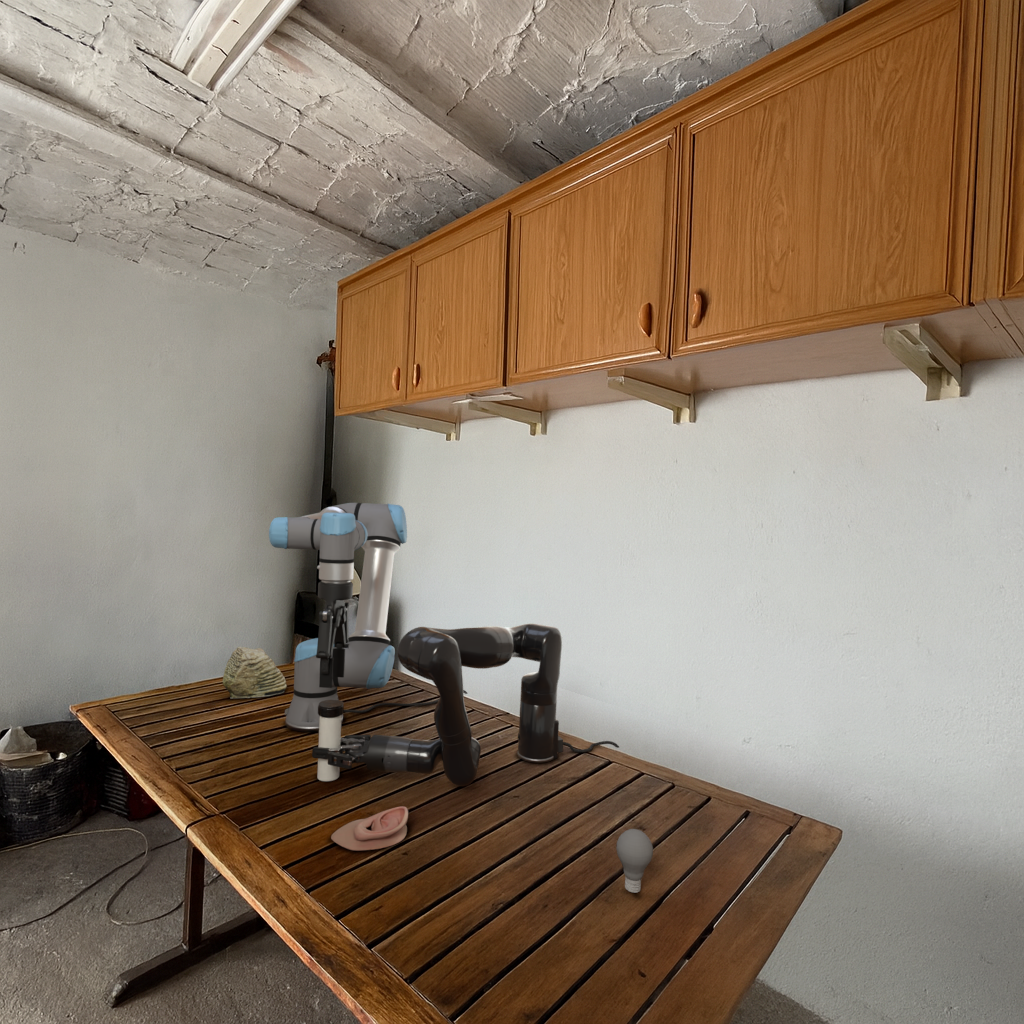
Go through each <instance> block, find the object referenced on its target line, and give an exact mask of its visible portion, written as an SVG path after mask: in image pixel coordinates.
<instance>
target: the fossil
mask: <svg viewBox="0 0 1024 1024" xmlns="http://www.w3.org/2000/svg"><path fill="white" fill-rule="evenodd" d="M222 676H223V677H222V685H223V687H224V688H225V690H226V691H228V693H229V698H230V699H250V698H264V697H271V696H275V695H281V694H284V693H285V691H286V689H287V687H288V686H287V680H286V678H285V676H284V674H283V673H282V672H281V669H279V668H278V667H277V665H276V663H275V662H274V660H273V659H272V658H271V657H270V656H269V655H268V654H267V653H266V652H265V650H264V649H263V648H260V647H258V648H251V647H247V646H246V647H245V646H238V647H237V648H236V649H235V650H233V651H232V653H231V656H230V657H229V659H228V660H227V663H226V666H225V668H224V671H223V675H222Z"/></svg>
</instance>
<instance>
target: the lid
mask: <svg viewBox="0 0 1024 1024" xmlns="http://www.w3.org/2000/svg"><path fill="white" fill-rule="evenodd" d="M344 704H345V703H344V701H343V700H340V699H339V700H325V701H322V702H320V703H319V706H318V715H319V716H321V717H326V718H331V717H338V716H341V715H342V714H343V715H344V713H345V712H344V710H345V705H344Z"/></svg>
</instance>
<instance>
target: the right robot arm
mask: <svg viewBox="0 0 1024 1024" xmlns="http://www.w3.org/2000/svg"><path fill="white" fill-rule="evenodd" d="M563 645H564V644H563V634H562V632H561V630H560V629H559V628H557V627H555V626H551V625H547V624H539V623H534V622H532V623H531V622H530V623H528V622H527V623H523V624H518V625H515V626H510V627H508V626H507V627H506V626H501V625H499V626H498V625H488V626H487V625H486V626H485V625H484V626H476V627H473V626H472V627H462V628H461V627H460V628H452V629H451V628H450V629H448V628H447V629H446V628H436V627H430V626H429V627H428V626H418V627H414V628H412V629H410V630H409V631H407V632H406V633H405V634H404V635H403V636H402V638H401V639H400V641H399V642H398V645H397V649H396V650H397V651H396V654H397V659H398V661H399V663H400V664H401V666H402V667H404V669H406V670H407V671H409V672H410V673H413V674H415V675H416V676H419V677H422V678H424V679H426V680H429V681H432V682H433V684H434V686H435V688H436V689H437V692H438V694H439V698H440V699H439V698H438V699H439V701H438V702H437V703H436V705H435V708H434V710H433V722H434V725H435V729H436V732H437V735H438V738H435V739H431V740H430V739H429V740H427V739H416V738H410V737H405V736H395V735H385V734H384V735H383V734H373V735H370V734H347V735H345V736H344V737H341V744H340V748H331V749H330V748H322V747H318V746H314V747H313V748H312V750H311V757H312V758H313V759H318V758H320V759H328V765H332V766H337V767H340V769H341V768H342V769H347V770H351V769H353V764H362V763H364V764H365V766H366V769H367V770H368V771H371V772H372V771H373V772H385V773H394V774H395V773H396V774H400V773H401V774H403V773H410V774H421V775H422V774H423V775H430V774H431V775H432V774H433V773H434V772H435V770H436V769H437V767H438V765H439V764H440V763H441V762H442V768H443V772H444V775H445V777H446V778H447V779H448V781H449V782H450V783H451V784H453V785H455V786H457V787H466V786H469V785H470V784H471V783H473V782H474V781H475V779H476V777H477V774H478V770H479V763H480V758H481V754H482V746H481V743H480V742H479V741H478V740H477V739H476V738H474V737H473V731H472V728H471V724H470V721H469V716H468V712H467V710H466V703H465V693H463V690H464V678H463V667H466V668H470V669H477V670H478V669H480V670H481V669H482V670H483V669H486V670H487V669H493V668H498V667H502V666H504V665H507V664H508V663H509V662H510V661H511V659H512V658H519V659H524V660H527V661H533V662H537V663H539V667H538V670H537V671H533V672H532V671H531V672H528V673H526V674H523V675H522V677H521V679H520V699H519V719H518V720H519V723H518V734H517V742H518V743H517V758H519V759H520V760H522V761H524V762H526V763H527V762H528V763H533V764H544V763H549V762H551V761H553V760H558V753H563V752H564V746H566V747H569V749H570V750H571V751H572V752H574V753H579V754H580V753H582V754H583V753H589V752H591V751H592V750H593V748H594V747H598V746H602V745H611V746H614V747H615V748H616V749H617V748H620V746H619V744H617V743H616V742H614V741H611V740H603V741H598V742H594V743H591V744H590V745H589V748H584V749H578V748H574V747H573V745H572V744H571V743H569V742H567V741H564V739H563V738H562V737H561V736H560V735H559V728H560V722H559V719H557V702H558V684H559V681H560V675H561V666H562V657H563ZM336 752H339V753H336Z"/></svg>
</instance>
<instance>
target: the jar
mask: <svg viewBox="0 0 1024 1024" xmlns="http://www.w3.org/2000/svg"><path fill="white" fill-rule="evenodd" d="M341 718H342V715H341V716H338V717H331V718H326V717H321V716H320V720H319V731H318V746H317V747H322V748H330V749H331V748H340V744H341V738H342V723H341ZM336 753H339V752H336ZM340 769H341V767H337V766H332V765H328V759H320V758H317V773H316V775H317V780H319V781H321V782H332V781H335V780H337V779H338V778H340Z"/></svg>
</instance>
